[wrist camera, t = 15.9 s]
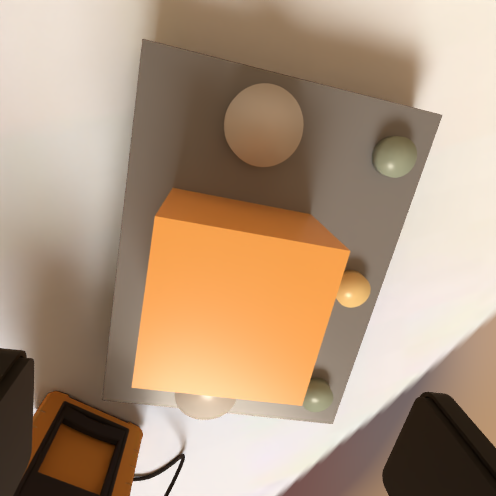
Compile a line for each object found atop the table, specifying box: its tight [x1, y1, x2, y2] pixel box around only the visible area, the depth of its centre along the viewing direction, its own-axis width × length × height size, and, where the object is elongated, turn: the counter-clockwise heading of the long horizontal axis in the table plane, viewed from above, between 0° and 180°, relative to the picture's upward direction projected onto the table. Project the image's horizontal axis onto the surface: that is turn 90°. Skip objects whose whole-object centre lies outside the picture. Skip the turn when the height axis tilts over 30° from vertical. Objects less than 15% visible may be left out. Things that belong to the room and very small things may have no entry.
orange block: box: [132, 188, 350, 406], centre depth 17 cm, size 7×7×6 cm
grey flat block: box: [102, 39, 442, 424], centre depth 21 cm, size 20×15×4 cm
